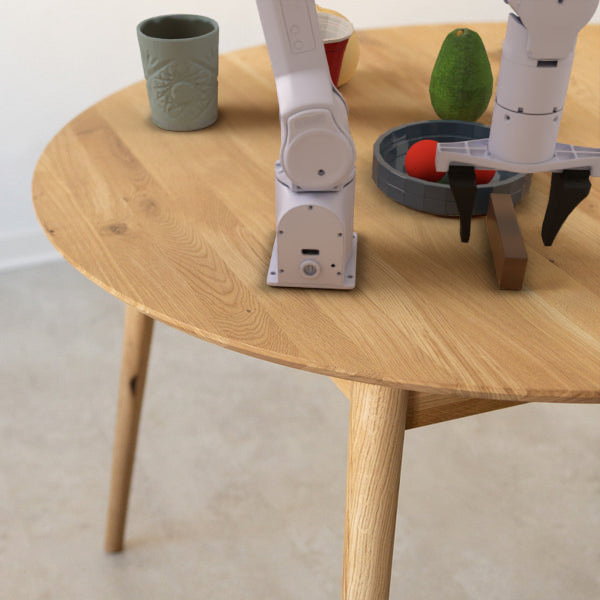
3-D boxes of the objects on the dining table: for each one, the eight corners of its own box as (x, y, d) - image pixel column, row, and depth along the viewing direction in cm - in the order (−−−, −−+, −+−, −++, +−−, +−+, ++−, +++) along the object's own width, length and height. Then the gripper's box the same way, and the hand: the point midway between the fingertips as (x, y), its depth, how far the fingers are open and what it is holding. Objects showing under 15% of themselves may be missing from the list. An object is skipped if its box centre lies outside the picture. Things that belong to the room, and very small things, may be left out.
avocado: (426, 110, 104) (435, 18, 97) (486, 113, 103) (499, 20, 96) (425, 134, 98) (434, 38, 91) (489, 138, 97) (503, 41, 90)
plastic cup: (329, 137, 97) (331, 40, 90) (254, 120, 101) (250, 27, 94) (364, 107, 105) (369, 16, 98) (294, 93, 109) (293, 4, 102)
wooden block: (485, 222, 80) (490, 193, 78) (505, 223, 80) (510, 193, 78) (499, 289, 70) (505, 257, 68) (521, 290, 70) (528, 258, 68)
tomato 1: (427, 198, 87) (449, 182, 82) (391, 177, 86) (411, 160, 81) (441, 164, 88) (463, 146, 84) (405, 143, 87) (425, 124, 83)
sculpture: (268, 72, 116) (266, -3, 109) (347, 67, 118) (349, -8, 111) (281, 101, 107) (280, 21, 100) (366, 95, 108) (370, 15, 102)
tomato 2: (512, 171, 84) (494, 165, 80) (478, 199, 86) (459, 195, 82) (488, 137, 85) (469, 130, 82) (455, 166, 88) (435, 160, 84)
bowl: (541, 222, 80) (547, 191, 78) (370, 216, 81) (372, 185, 79) (517, 150, 94) (522, 121, 92) (372, 145, 95) (374, 117, 93)
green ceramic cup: (183, 98, 108) (174, 9, 101) (241, 114, 103) (236, 21, 96) (130, 123, 101) (117, 28, 94) (190, 141, 96) (181, 43, 89)
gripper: (605, 87, 69) (574, 221, 77) (440, 82, 70) (426, 215, 78) (625, 118, 63) (589, 259, 71) (445, 113, 64) (429, 253, 72)
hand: (504, 239), depth 74 cm, fingers open, 7 cm apart
